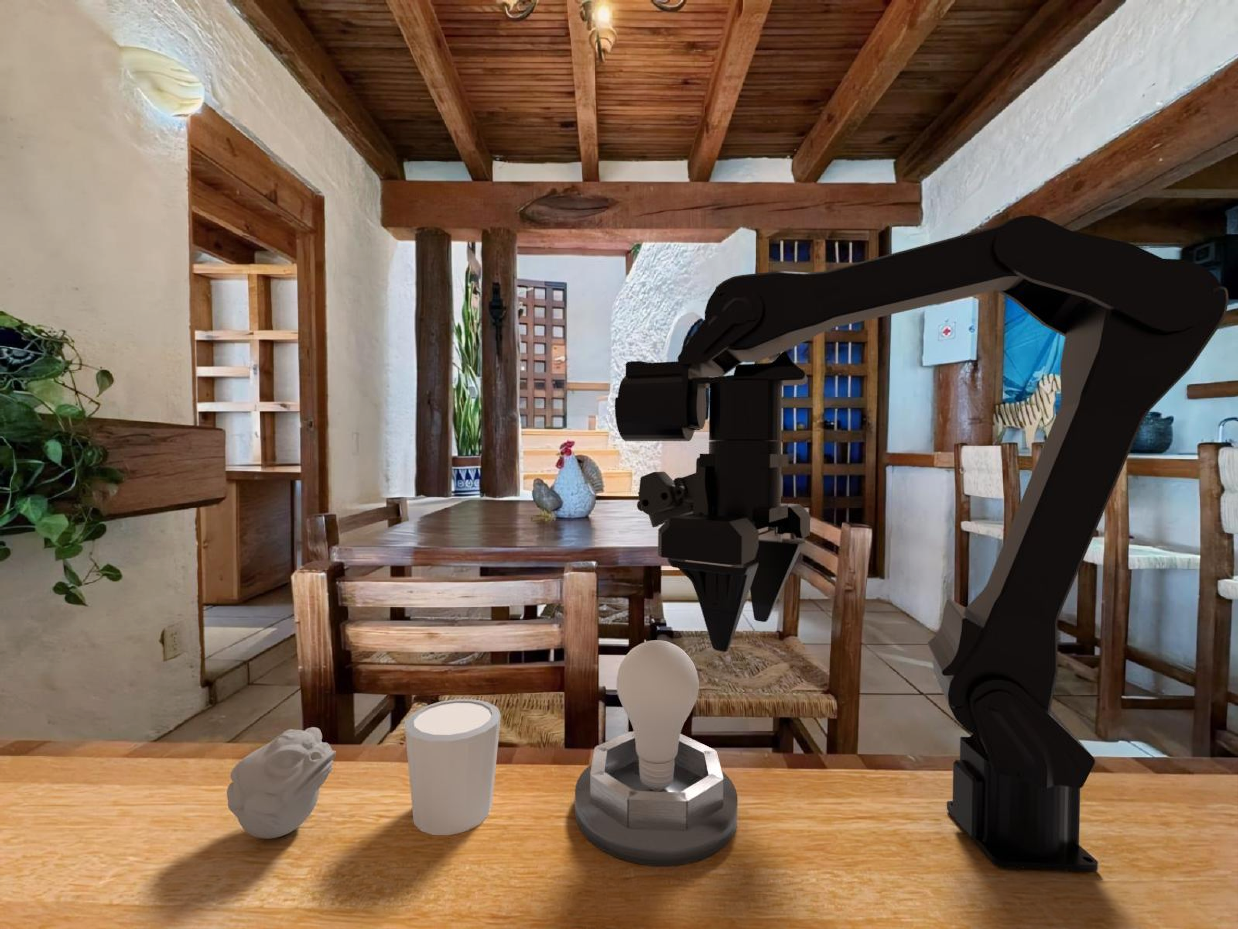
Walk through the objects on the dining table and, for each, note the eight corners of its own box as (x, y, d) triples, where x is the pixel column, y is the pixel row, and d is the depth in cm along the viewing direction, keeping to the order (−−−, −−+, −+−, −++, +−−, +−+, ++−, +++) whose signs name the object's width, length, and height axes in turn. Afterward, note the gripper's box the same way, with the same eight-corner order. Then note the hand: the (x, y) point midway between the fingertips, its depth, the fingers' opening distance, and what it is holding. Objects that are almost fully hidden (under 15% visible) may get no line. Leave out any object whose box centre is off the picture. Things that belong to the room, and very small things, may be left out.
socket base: (724, 768, 49) (725, 727, 49) (751, 869, 37) (752, 815, 37) (583, 763, 49) (583, 723, 49) (564, 862, 37) (565, 808, 37)
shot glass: (475, 848, 38) (476, 744, 38) (383, 834, 40) (383, 733, 40) (514, 790, 45) (514, 701, 45) (434, 779, 47) (434, 693, 46)
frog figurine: (301, 866, 37) (301, 758, 36) (200, 858, 37) (200, 751, 37) (354, 808, 43) (355, 715, 42) (266, 802, 43) (266, 710, 43)
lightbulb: (599, 796, 42) (601, 646, 42) (640, 759, 47) (641, 625, 47) (676, 825, 39) (677, 662, 39) (710, 781, 44) (711, 638, 44)
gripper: (700, 444, 58) (698, 597, 59) (596, 438, 43) (594, 648, 43) (812, 444, 52) (810, 614, 53) (740, 437, 37) (737, 680, 37)
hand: (742, 634), depth 46 cm, fingers open, 9 cm apart
